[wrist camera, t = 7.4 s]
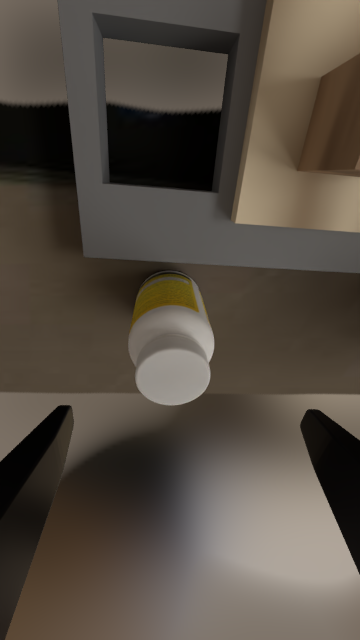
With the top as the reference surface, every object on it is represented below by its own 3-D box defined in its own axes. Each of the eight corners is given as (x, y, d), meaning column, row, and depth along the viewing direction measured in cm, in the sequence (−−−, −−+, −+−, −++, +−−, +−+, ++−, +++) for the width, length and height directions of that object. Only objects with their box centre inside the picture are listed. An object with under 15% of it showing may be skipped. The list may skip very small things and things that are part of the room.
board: (456, -34, 14) (512, -74, 11) (341, 263, 21) (361, 273, 19) (62, -106, 12) (40, -169, 10) (92, 248, 20) (84, 257, 17)
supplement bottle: (123, 295, 22) (98, 374, 13) (174, 255, 20) (183, 314, 12) (164, 337, 24) (165, 427, 15) (212, 303, 22) (244, 382, 14)
